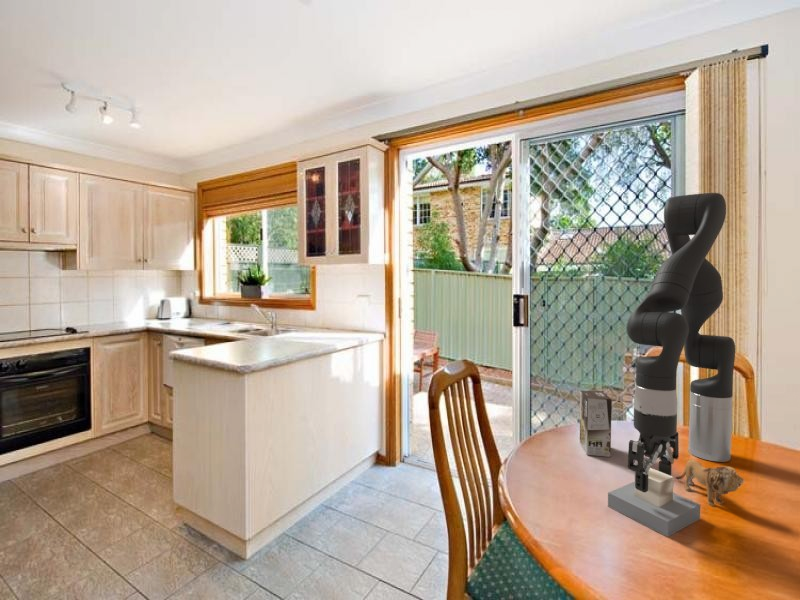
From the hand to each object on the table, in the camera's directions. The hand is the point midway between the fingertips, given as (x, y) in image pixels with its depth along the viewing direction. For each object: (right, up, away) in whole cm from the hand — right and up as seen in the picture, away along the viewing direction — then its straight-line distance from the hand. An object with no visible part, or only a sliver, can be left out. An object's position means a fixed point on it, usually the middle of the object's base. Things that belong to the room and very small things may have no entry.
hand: (653, 485), depth 84 cm
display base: (0, -6, 0) cm, 6 cm away
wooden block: (0, -3, 0) cm, 3 cm away
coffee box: (+3, -5, +32) cm, 32 cm away
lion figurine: (+16, -6, +6) cm, 18 cm away
